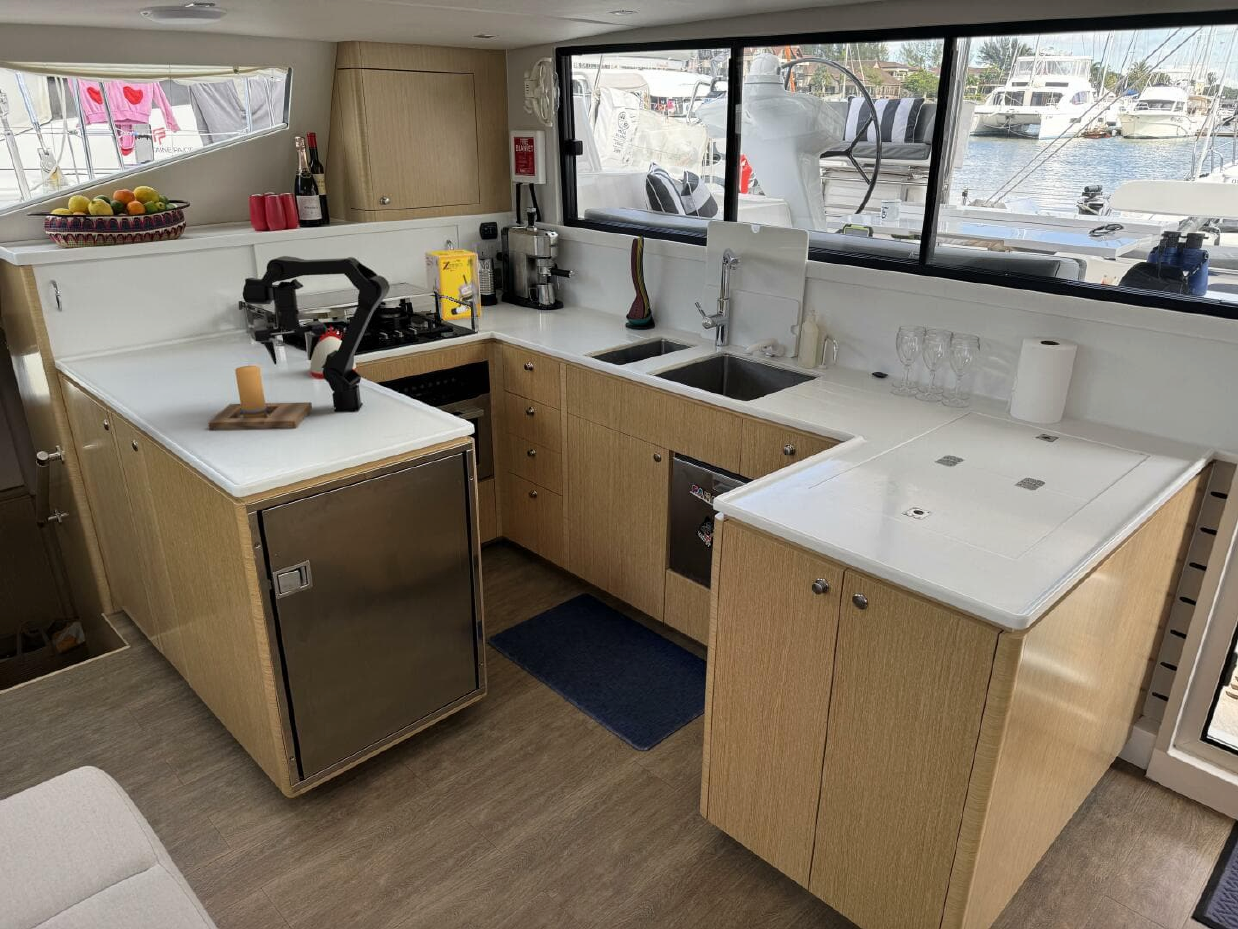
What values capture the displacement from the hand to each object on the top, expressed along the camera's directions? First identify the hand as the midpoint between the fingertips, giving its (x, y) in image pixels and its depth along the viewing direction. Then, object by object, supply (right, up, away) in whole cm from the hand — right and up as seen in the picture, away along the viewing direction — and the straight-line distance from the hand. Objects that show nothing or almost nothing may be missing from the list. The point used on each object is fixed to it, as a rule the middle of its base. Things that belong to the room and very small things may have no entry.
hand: (292, 361), depth 239 cm
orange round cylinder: (-8, -16, -5) cm, 19 cm away
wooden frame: (-6, -16, -5) cm, 18 cm away
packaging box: (+22, +33, +120) cm, 126 cm away
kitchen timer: (-1, +1, +38) cm, 38 cm away
